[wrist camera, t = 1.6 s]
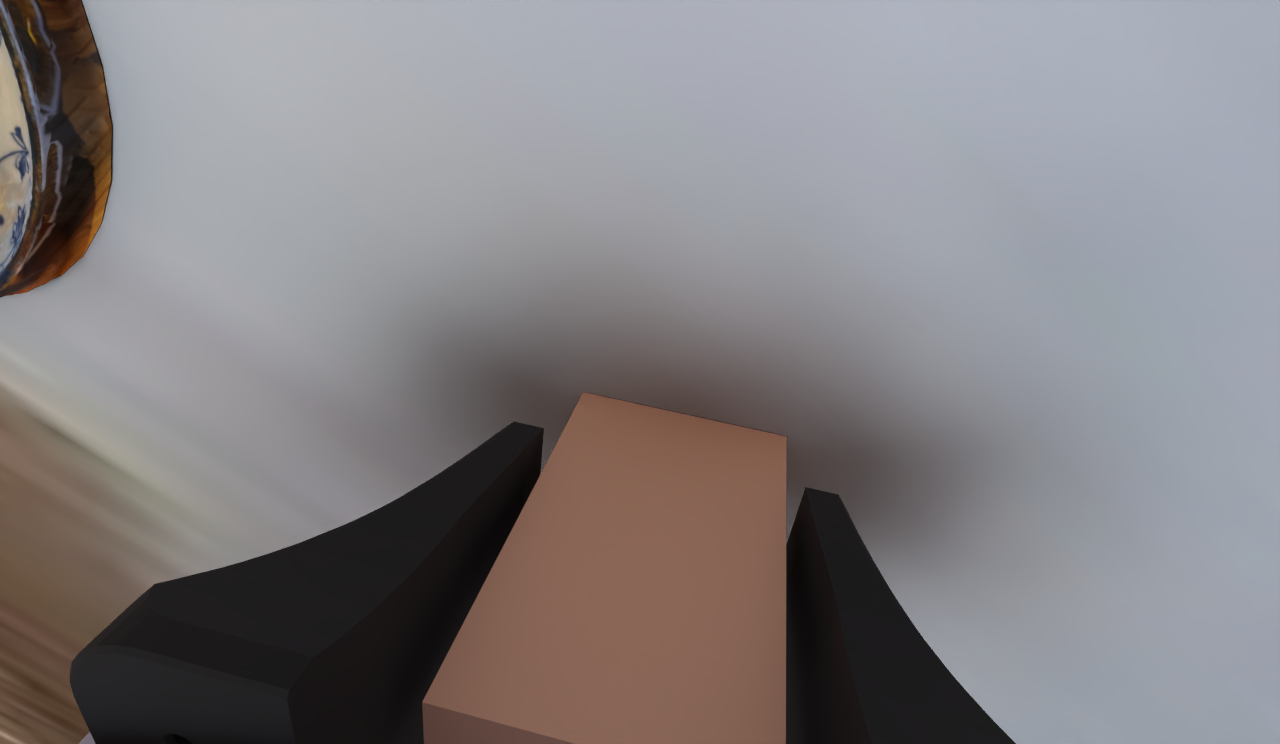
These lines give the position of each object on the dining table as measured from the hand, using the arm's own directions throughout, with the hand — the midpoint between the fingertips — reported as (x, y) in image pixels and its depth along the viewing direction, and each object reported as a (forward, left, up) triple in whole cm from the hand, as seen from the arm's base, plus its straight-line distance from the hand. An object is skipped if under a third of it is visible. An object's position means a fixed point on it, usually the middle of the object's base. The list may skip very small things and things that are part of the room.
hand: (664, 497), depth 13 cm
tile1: (0, 0, -2) cm, 2 cm away
